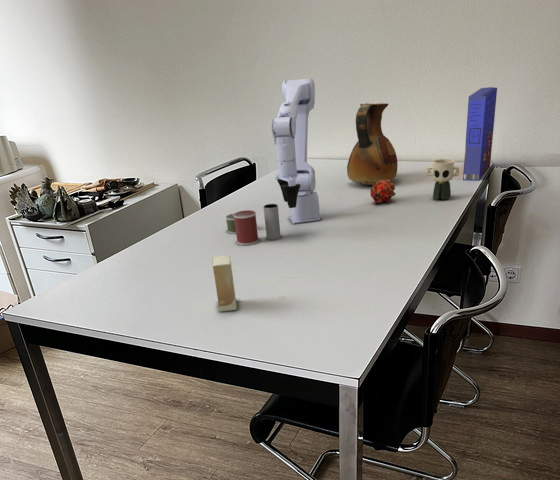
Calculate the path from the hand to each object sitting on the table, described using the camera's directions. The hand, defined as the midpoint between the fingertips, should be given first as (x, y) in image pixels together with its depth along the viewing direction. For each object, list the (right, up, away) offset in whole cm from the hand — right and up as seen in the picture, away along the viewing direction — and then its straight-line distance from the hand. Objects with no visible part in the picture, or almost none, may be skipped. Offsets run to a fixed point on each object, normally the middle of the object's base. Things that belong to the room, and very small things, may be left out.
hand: (290, 204), depth 186 cm
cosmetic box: (-16, -37, -38) cm, 55 cm away
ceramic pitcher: (+34, +23, +52) cm, 66 cm away
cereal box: (+76, +27, +51) cm, 95 cm away
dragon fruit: (+34, +8, +28) cm, 45 cm away
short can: (-18, -5, +14) cm, 23 cm away
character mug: (+55, +9, +25) cm, 61 cm away
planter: (-5, -10, +4) cm, 12 cm away
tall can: (-13, -11, +4) cm, 18 cm away
